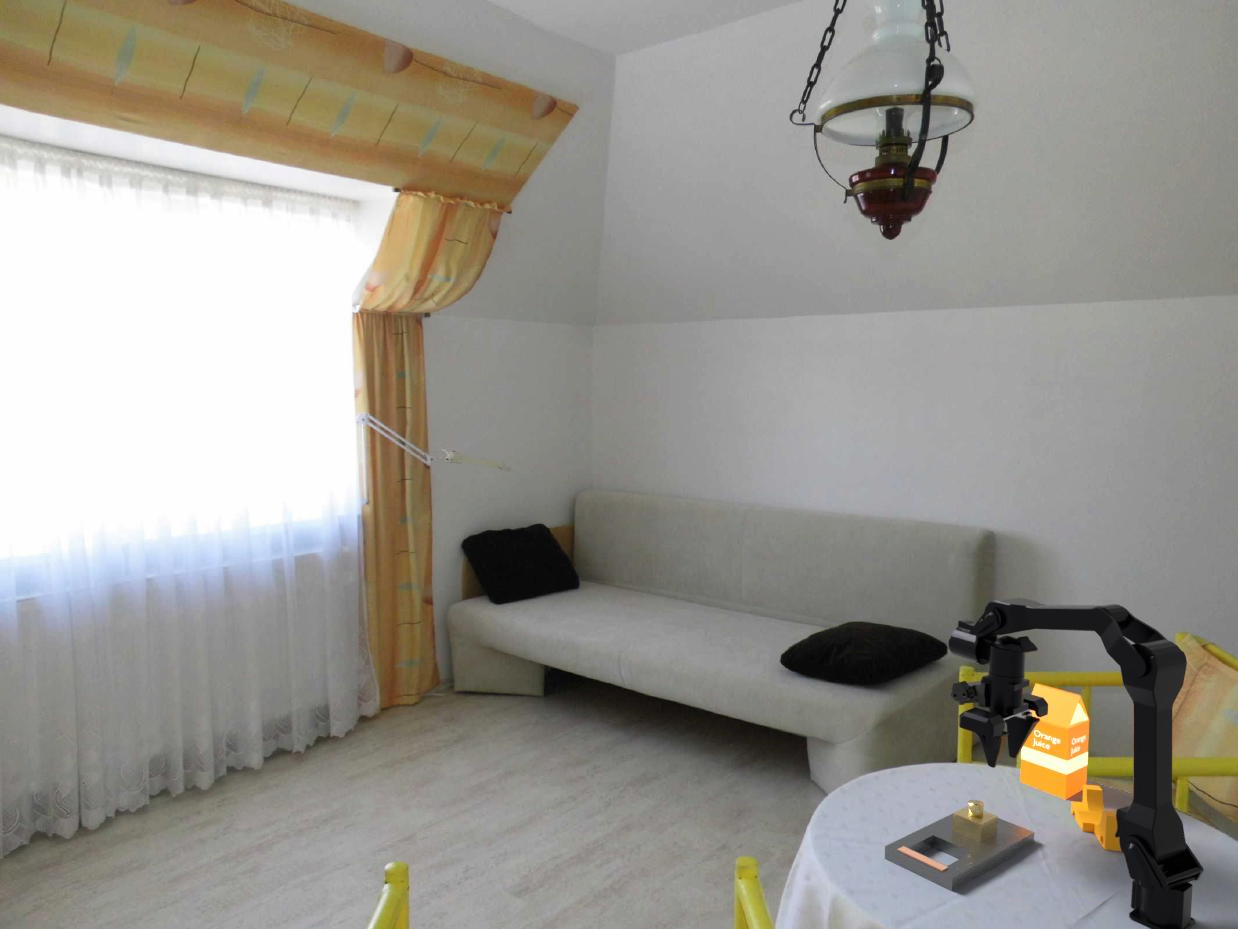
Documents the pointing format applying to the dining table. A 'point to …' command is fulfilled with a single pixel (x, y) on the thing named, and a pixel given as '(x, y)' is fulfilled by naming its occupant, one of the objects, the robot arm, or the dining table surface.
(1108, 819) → the pipe clamp
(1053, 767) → the orange juice
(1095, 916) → the dining table surface
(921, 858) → the dark grey slab
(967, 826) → the gold block with knob
